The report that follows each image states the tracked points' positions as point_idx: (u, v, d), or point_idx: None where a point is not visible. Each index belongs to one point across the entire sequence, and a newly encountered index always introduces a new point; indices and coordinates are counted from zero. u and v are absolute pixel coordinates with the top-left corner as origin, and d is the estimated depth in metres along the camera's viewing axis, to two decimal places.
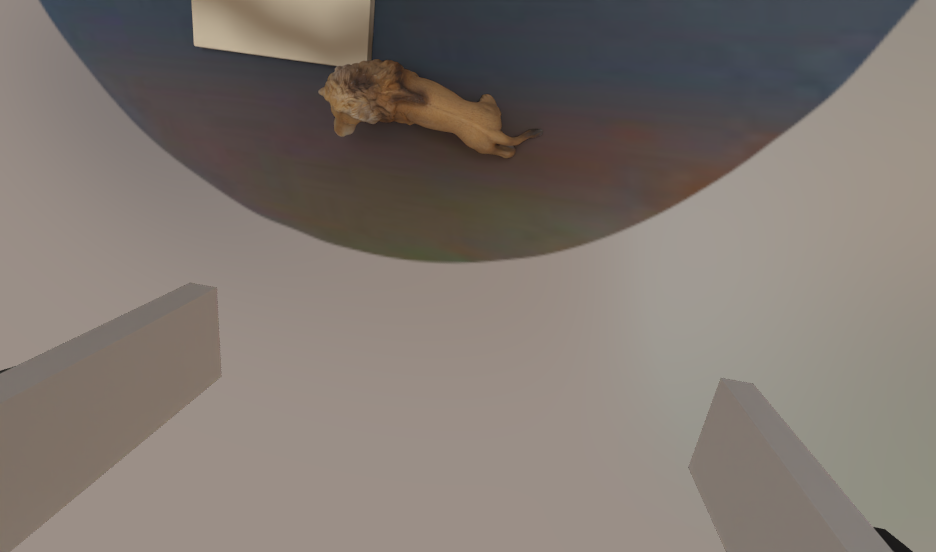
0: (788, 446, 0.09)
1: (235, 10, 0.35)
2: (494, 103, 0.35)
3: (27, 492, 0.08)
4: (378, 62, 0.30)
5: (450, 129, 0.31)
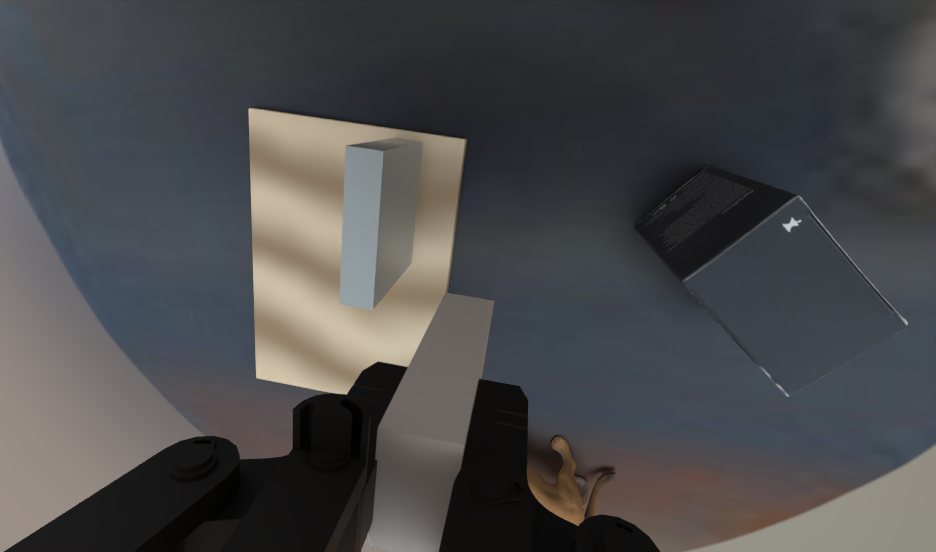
0: (472, 333, 0.12)
1: (299, 354, 0.35)
2: (568, 450, 0.35)
3: None
4: None
5: None
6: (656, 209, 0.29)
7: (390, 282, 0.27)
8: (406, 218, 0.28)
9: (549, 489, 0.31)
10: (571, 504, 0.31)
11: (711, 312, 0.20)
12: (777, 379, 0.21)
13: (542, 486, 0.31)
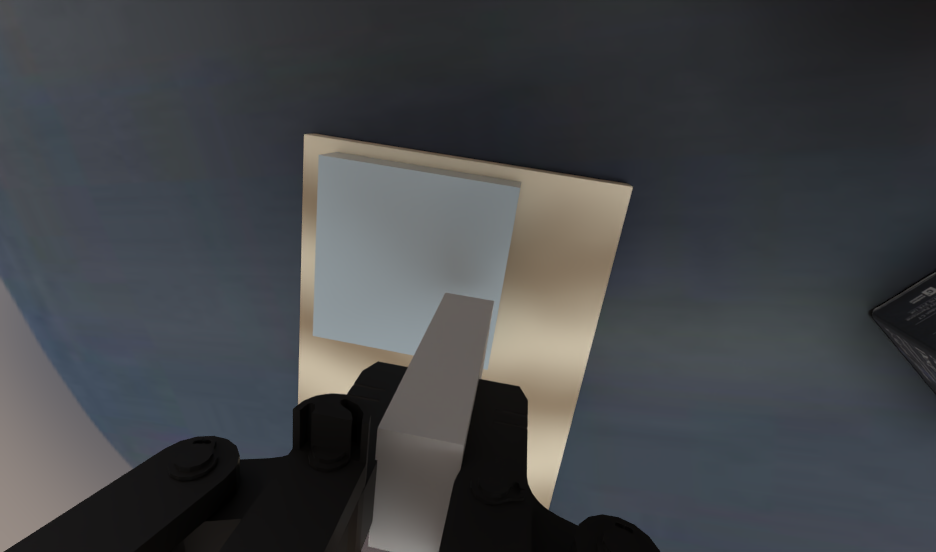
0: (472, 333, 0.12)
1: None
2: None
3: None
4: None
5: None
6: (913, 293, 0.19)
7: (377, 339, 0.21)
8: (443, 282, 0.19)
9: None
10: None
11: None
12: None
13: None
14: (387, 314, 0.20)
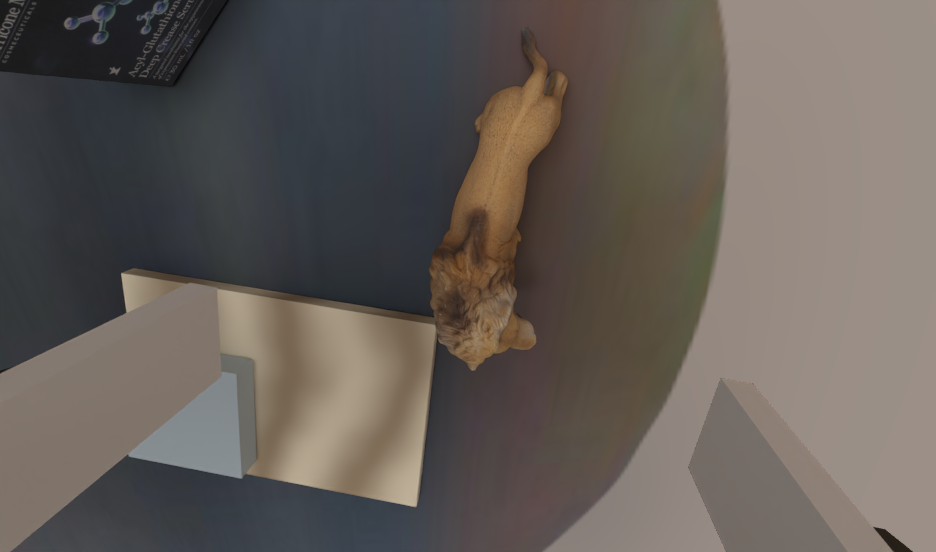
0: (788, 446, 0.09)
1: (379, 458, 0.31)
2: None
3: (27, 492, 0.08)
4: (432, 281, 0.21)
5: (522, 172, 0.19)
6: None
7: (233, 440, 0.30)
8: None
9: None
10: (487, 111, 0.19)
11: None
12: None
13: None
14: (213, 432, 0.30)
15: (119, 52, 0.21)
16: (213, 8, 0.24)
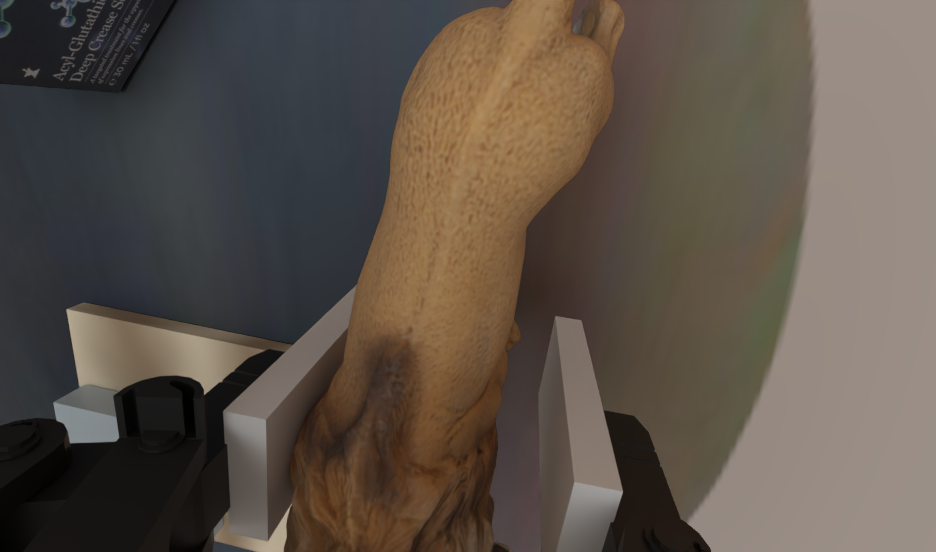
0: (575, 358, 0.11)
1: None
2: None
3: None
4: None
5: (507, 247, 0.07)
6: None
7: None
8: None
9: None
10: (412, 81, 0.07)
11: None
12: None
13: None
14: None
15: (33, 50, 0.16)
16: None
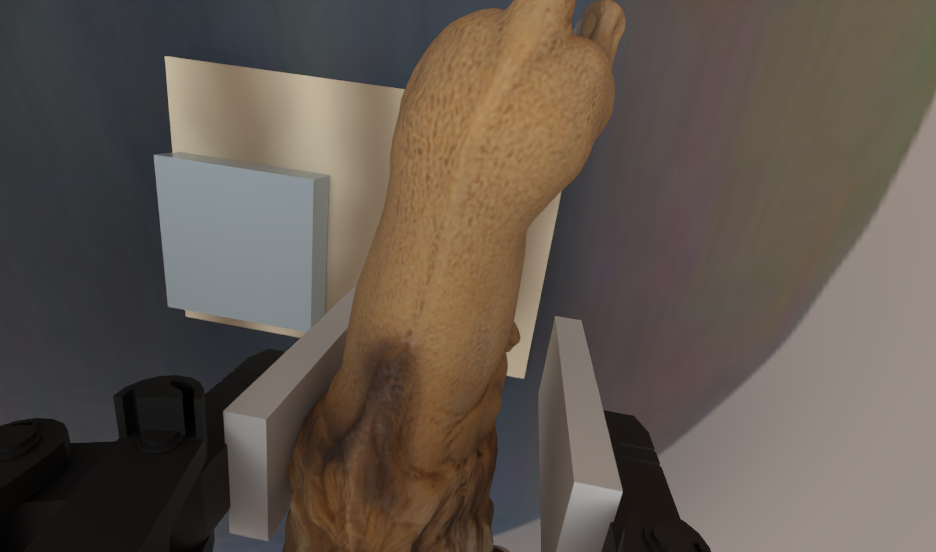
0: (575, 358, 0.11)
1: None
2: None
3: None
4: None
5: (507, 250, 0.07)
6: None
7: (303, 278, 0.23)
8: (241, 218, 0.23)
9: None
10: (411, 83, 0.07)
11: None
12: None
13: None
14: (278, 267, 0.23)
15: None
16: None
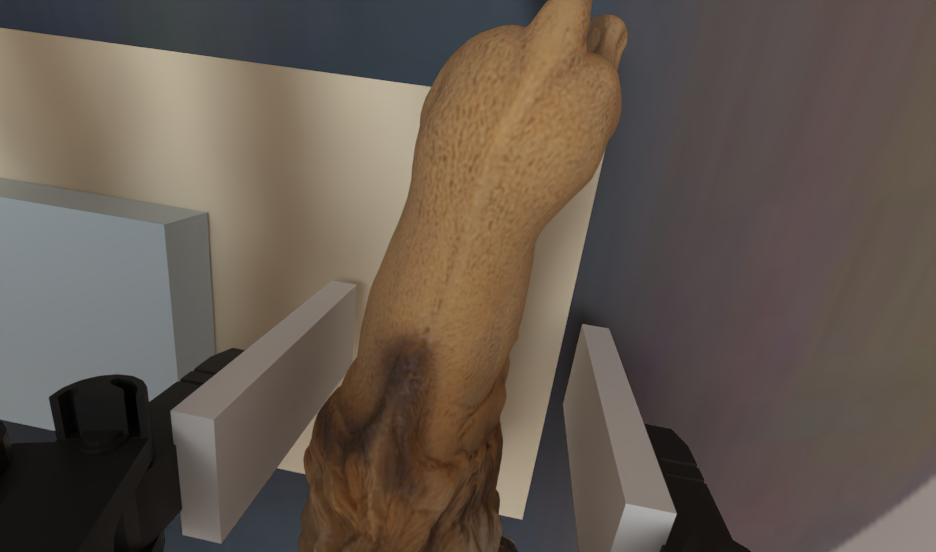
0: (608, 369, 0.11)
1: None
2: None
3: (260, 456, 0.09)
4: None
5: (522, 252, 0.07)
6: None
7: (164, 378, 0.14)
8: (57, 284, 0.14)
9: None
10: (433, 93, 0.07)
11: None
12: None
13: None
14: (125, 361, 0.14)
15: None
16: None
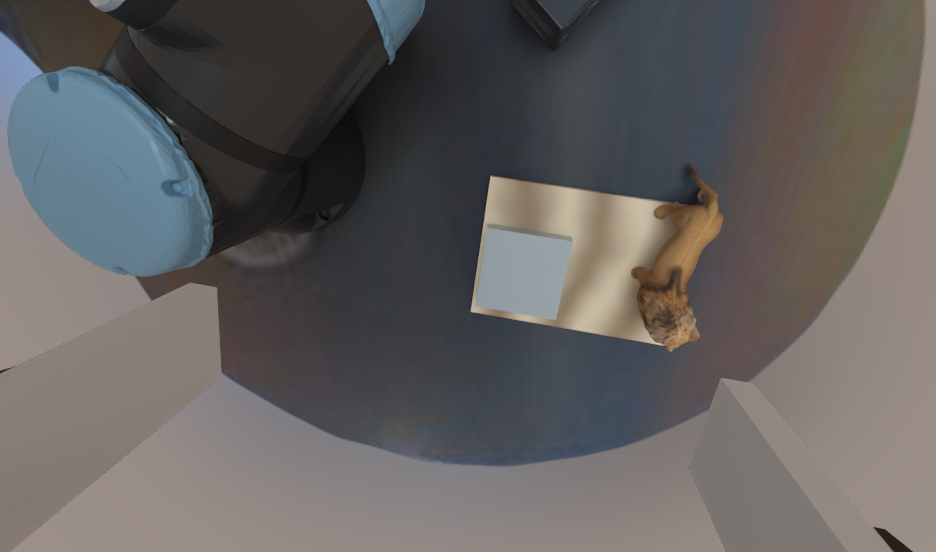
0: (788, 446, 0.09)
1: None
2: (664, 207, 0.42)
3: (27, 492, 0.08)
4: (644, 303, 0.39)
5: (702, 249, 0.37)
6: None
7: (557, 290, 0.44)
8: (528, 260, 0.44)
9: (676, 233, 0.38)
10: (686, 218, 0.37)
11: (584, 4, 0.30)
12: None
13: (672, 239, 0.38)
14: (544, 285, 0.44)
15: (573, 26, 0.36)
16: (600, 0, 0.38)
